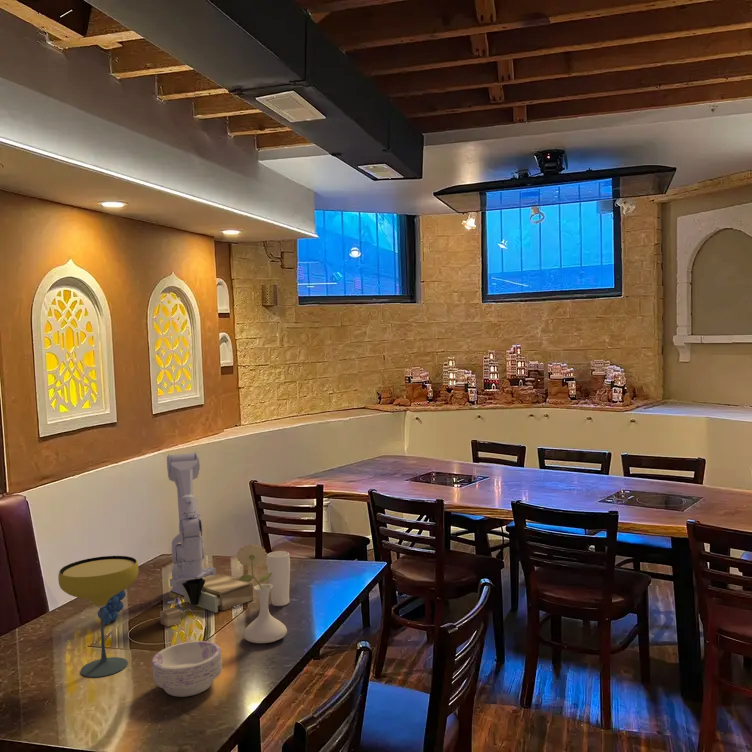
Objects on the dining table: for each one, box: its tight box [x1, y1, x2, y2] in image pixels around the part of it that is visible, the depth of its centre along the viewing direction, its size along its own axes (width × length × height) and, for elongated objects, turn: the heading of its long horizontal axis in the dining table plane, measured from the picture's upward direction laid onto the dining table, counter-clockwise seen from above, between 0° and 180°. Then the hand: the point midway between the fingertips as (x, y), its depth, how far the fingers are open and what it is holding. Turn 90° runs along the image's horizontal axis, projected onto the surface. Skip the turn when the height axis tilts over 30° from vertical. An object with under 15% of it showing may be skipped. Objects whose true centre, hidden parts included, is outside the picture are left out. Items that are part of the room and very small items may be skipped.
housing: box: [202, 573, 254, 611], centre depth 222 cm, size 16×11×5 cm
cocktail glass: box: [57, 555, 139, 679], centre depth 176 cm, size 18×18×25 cm
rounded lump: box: [205, 590, 220, 598], centre depth 220 cm, size 5×5×2 cm
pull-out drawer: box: [183, 588, 220, 613], centre depth 220 cm, size 16×10×5 cm, turn 47°
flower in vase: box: [235, 543, 288, 644], centre depth 190 cm, size 13×11×25 cm
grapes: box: [97, 589, 127, 625], centre depth 207 cm, size 12×7×12 cm, turn 165°
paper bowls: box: [151, 640, 223, 698], centre depth 163 cm, size 15×15×8 cm
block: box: [159, 607, 182, 628], centre depth 204 cm, size 4×4×4 cm
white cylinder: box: [266, 550, 291, 607], centre depth 216 cm, size 7×7×15 cm
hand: (194, 604), depth 215 cm, fingers closed
